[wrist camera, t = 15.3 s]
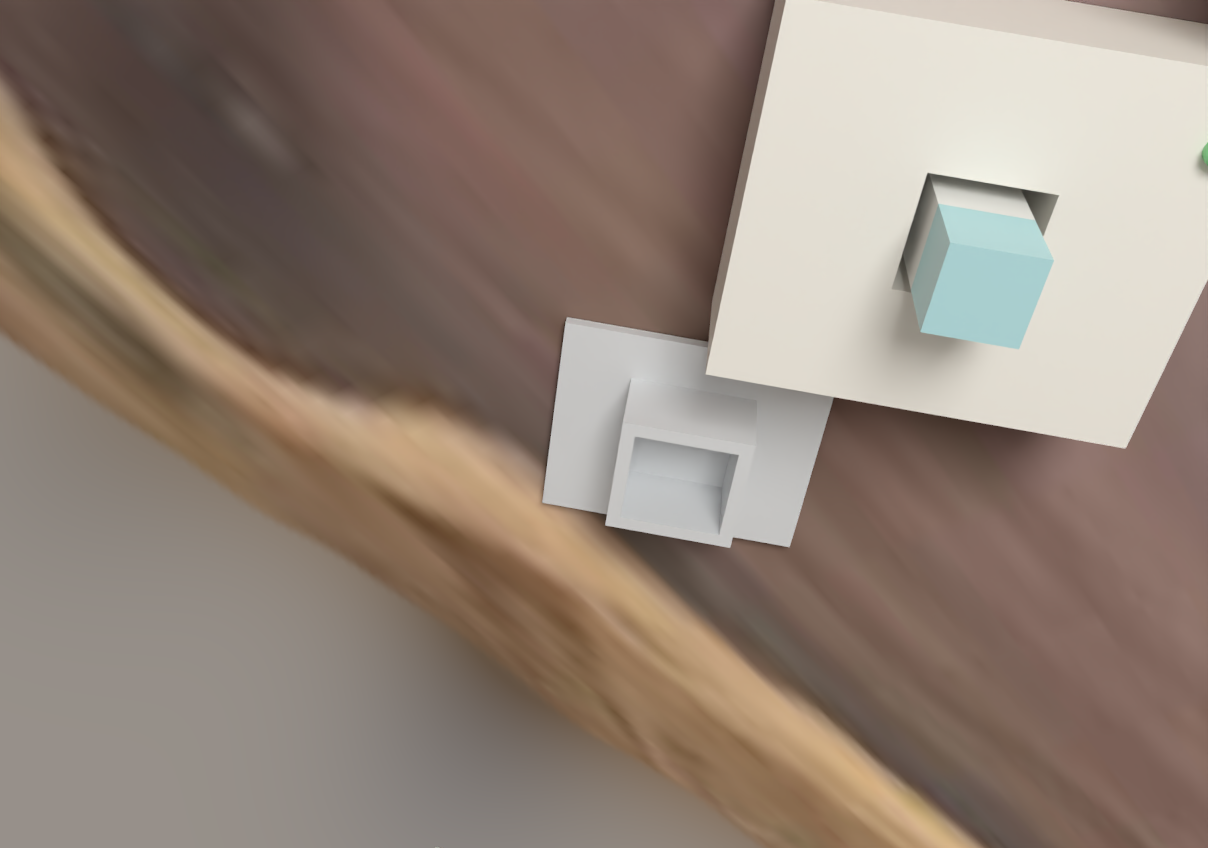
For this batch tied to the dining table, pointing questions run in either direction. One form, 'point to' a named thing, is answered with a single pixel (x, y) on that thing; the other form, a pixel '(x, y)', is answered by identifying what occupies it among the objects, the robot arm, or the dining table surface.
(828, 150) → the port
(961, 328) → the plug
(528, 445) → the dining table surface
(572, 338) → the holster
